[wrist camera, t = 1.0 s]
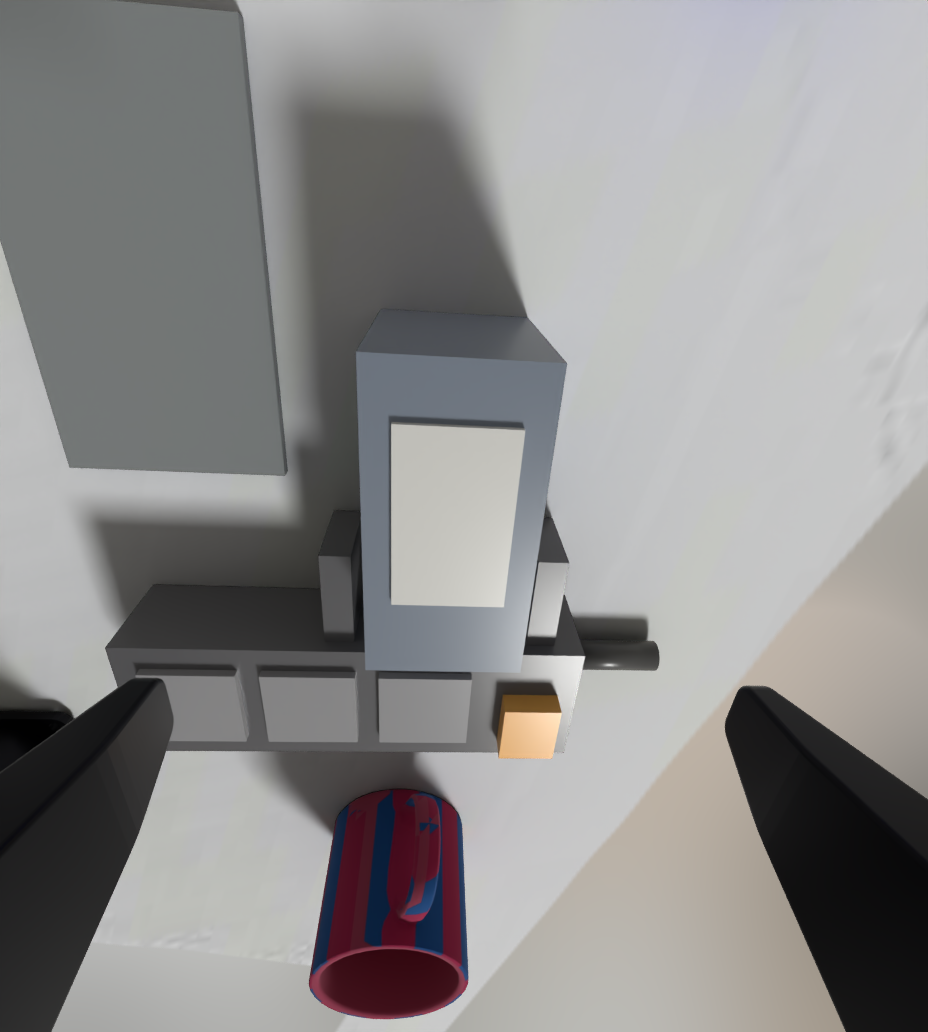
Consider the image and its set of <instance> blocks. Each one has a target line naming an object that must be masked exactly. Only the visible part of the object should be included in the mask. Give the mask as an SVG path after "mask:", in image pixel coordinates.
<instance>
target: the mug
mask: <svg viewBox="0 0 928 1032" xmlns="http://www.w3.org/2000/svg"><path fill="white" fill-rule="evenodd" d="M467 985H468V957H467V933H466V909H465V884H464V860H463V835H462V823H461V819H460V817H459V815H458V814H457V812H456V811H455V810H454V809H453V808H452V807H451V806H450V805H449V804H448V803H446V802H445V801H444V800H442V799H440V798H438V797H436V796H434V795H431V794H428V793H425V792H420V791H415V790H406V789H391V790H383V791H378V792H374V793H370V794H367V795H365V796H362V797H360V798H358V799H356V800H355V801H353V802H351V803H350V804H349V805H348V806H347V807H345V808H344V809H343V810H342V812H341V813H340V814H339V815H338V818H337V820H336V822H335V828H334V834H333V840H332V846H331V852H330V858H329V864H328V870H327V876H326V882H325V888H324V894H323V900H322V906H321V912H320V918H319V924H318V930H317V936H316V942H315V948H314V954H313V960H312V966H311V972H310V978H309V987H310V990H311V992H312V993H313V995H314V997H315V998H316V999H318V1000H319V1001H320V1002H321V1003H322V1004H324V1005H326V1006H327V1007H329V1008H331V1009H333V1010H335V1011H338V1012H341V1013H344V1014H347V1015H351V1016H356V1017H362V1018H371V1019H399V1018H408V1017H414V1016H419V1015H424V1014H427V1013H430V1012H434V1011H436V1010H439V1009H441V1008H443V1007H445V1006H447V1005H449V1004H451V1003H452V1002H454V1001H455V1000H456V999H457V998H459V997H460V996H461V995H462V993H463V992H464V991H465V989H466V987H467Z"/></svg>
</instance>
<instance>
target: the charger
mask: <svg viewBox="0 0 928 1032" xmlns="http://www.w3.org/2000/svg"><path fill="white" fill-rule="evenodd" d="M566 367H567V363H566V361H565V360H564V359H563V358H562V357H561V356H560V354H559V353H558V352H557V351H556V350H555V349H554V348H553V346H552V345H551V344H550V343H549V342H548V341H547V339H546V338H545V337H544V336H543V335H542V334H541V332H540V331H539V330H538V329H537V328H536V327H535V325H534V324H533V323H532V322H531V321H530V320H529V318H525V317H508V316H492V315H475V314H458V313H441V312H425V311H408V310H391V309H381V310H380V312H379V313H378V315H377V317H376V318H375V320H374V322H373V323H372V325H371V327H370V329H369V330H368V332H367V334H366V335H365V337H364V339H363V340H362V342H361V344H360V346H359V347H358V349H357V351H356V374H357V407H358V440H359V473H360V506H361V539H362V572H363V605H364V638H365V670H382V671H444V672H506V673H520V672H521V665H522V658H523V652H524V645H525V638H526V632H527V625H528V619H529V612H530V605H531V599H532V592H533V586H534V579H535V572H536V566H537V559H538V552H539V546H540V539H541V533H542V526H543V519H544V513H545V506H546V499H547V493H548V486H549V480H550V473H551V466H552V460H553V453H554V447H555V440H556V433H557V427H558V420H559V413H560V407H561V400H562V394H563V387H564V380H565V374H566Z"/></svg>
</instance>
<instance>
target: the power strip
mask: <svg viewBox="0 0 928 1032" xmlns="http://www.w3.org/2000/svg"><path fill="white" fill-rule="evenodd" d="M318 560H319V573H320V586H321V589H305V588H265V587H224V586H184V585H153V586H152V587H151V588H150V590H149V591H148V592H147V593H146V595H145V596H144V597H143V599H142V600H141V601H140V603H139V604H138V605H137V607H136V608H135V609H134V611H133V612H132V613H131V614H130V616H129V617H128V618H127V620H126V621H125V622H124V624H123V625H122V626H121V628H120V629H119V630H118V632H117V633H116V634H115V635H114V637H113V638H112V639H111V641H110V642H109V643H108V645H107V646H106V647H105V649H106V652H107V655H108V659H109V662H110V665H111V668H112V671H113V674H114V677H115V680H116V683H117V686H118V687H120V686H121V685H122V684H124V683H125V682H127V681H128V680H130V679H132V678H160V679H162V680H163V681H164V683H165V685H166V689H167V693H168V696H169V700H170V704H171V708H172V711H173V716H174V725H173V731H172V734H171V737H170V740H169V743H168V746H167V749H166V751H318V752H498V756H499V758H544V759H552V757H553V753H564V749H565V745H566V740H567V736H568V731H569V727H570V722H571V718H572V713H573V709H574V704H575V700H576V695H577V691H578V686H579V682H580V677H581V673H582V670H644V671H655V670H657V668H658V666H659V650H658V647H657V644H656V643H655V642H654V641H623V640H580V639H579V636H578V633H577V630H576V627H575V624H574V621H573V618H572V615H571V612H570V609H569V606H568V603H567V600H566V597H565V595H564V590H565V584H566V579H567V574H568V568H569V561H568V558H567V556H566V553H565V550H564V548H563V545H562V542H561V540H560V537H559V534H558V532H557V529H556V526H555V524H554V521H553V518H544V519H543V526H542V533H541V539H540V546H539V552H538V559H537V566H536V572H535V579H534V586H533V592H532V599H531V605H530V612H529V619H528V625H527V632H526V638H525V645H524V652H523V658H522V665H521V672H520V673H506V672H444V671H382V670H365V638H364V605H363V572H362V539H361V512H359V511H334V512H333V515H332V517H331V520H330V523H329V526H328V529H327V532H326V535H325V538H324V541H323V544H322V546H321V549H320V552H319V555H318Z"/></svg>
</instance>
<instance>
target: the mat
mask: <svg viewBox="0 0 928 1032" xmlns="http://www.w3.org/2000/svg"><path fill="white" fill-rule="evenodd" d="M0 241H1V244H2V248H3V251H4V254H5V258H6V261H7V264H8V267H9V271H10V274H11V277H12V280H13V284H14V287H15V290H16V294H17V297H18V300H19V303H20V307H21V310H22V313H23V317H24V320H25V323H26V326H27V330H28V333H29V336H30V340H31V343H32V346H33V349H34V353H35V356H36V359H37V362H38V366H39V369H40V372H41V376H42V379H43V382H44V385H45V389H46V392H47V395H48V399H49V402H50V405H51V408H52V412H53V415H54V418H55V422H56V425H57V428H58V431H59V435H60V438H61V441H62V444H63V448H64V451H65V454H66V458H67V461H68V464H69V467H70V468H95V469H121V470H147V471H173V472H199V473H225V474H251V475H277V476H285V475H286V473H287V471H288V468H287V458H286V448H285V438H284V428H283V418H282V408H281V397H280V387H279V377H278V367H277V357H276V347H275V337H274V327H273V316H272V306H271V296H270V286H269V276H268V266H267V256H266V246H265V235H264V225H263V215H262V205H261V195H260V185H259V175H258V164H257V154H256V144H255V134H254V124H253V114H252V104H251V94H250V83H249V73H248V63H247V53H246V43H245V33H244V23H243V17H242V16H241V15H240V14H239V13H238V12H232V11H222V10H211V9H200V8H190V7H179V6H168V5H158V4H147V3H137V2H126V1H115V0H0Z"/></svg>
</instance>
